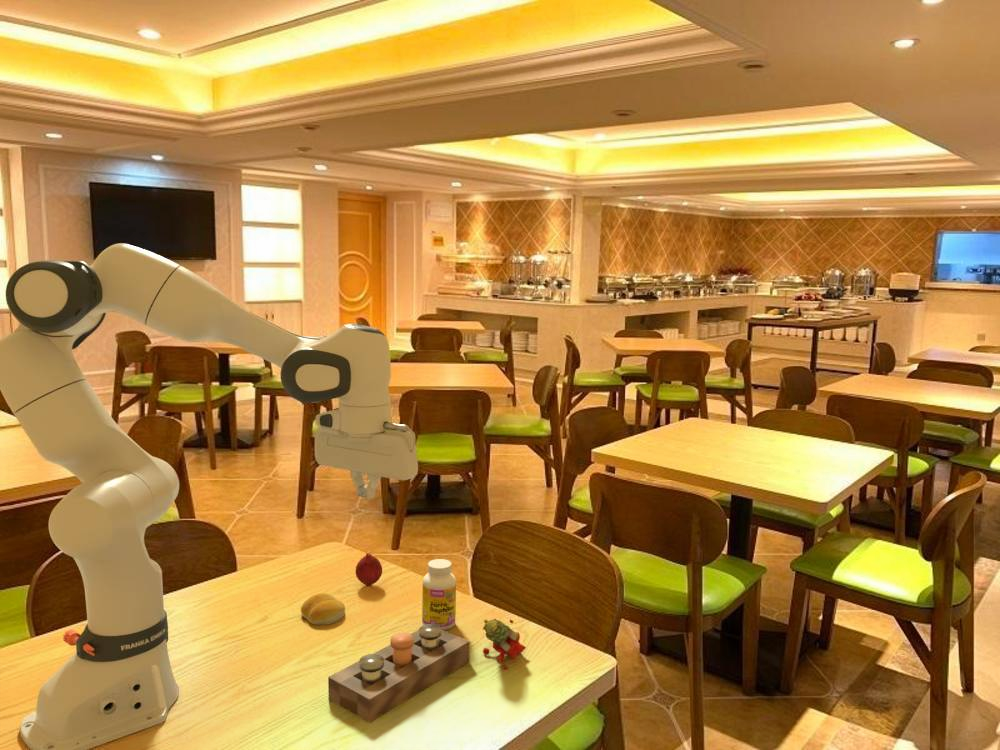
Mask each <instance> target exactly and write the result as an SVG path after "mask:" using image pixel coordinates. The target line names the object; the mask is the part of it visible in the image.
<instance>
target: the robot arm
mask: <svg viewBox="0 0 1000 750" xmlns="http://www.w3.org/2000/svg"><path fill="white" fill-rule="evenodd" d="M5 300H6V305H7V308H8V310H9V311H10V313H11V315H12V316H13V317H14V318H15V320H16V321H18V322H19V325H18V327H17V328H16V329H14V331H13V332H10V333H8V334H6V335H4V336H3V337H1V338H0V392H1V395H2V396H3V398H4V400H5V402H6V404H7V406H8V408H10V411H11V413H12V414H13V415H14V417H15V418H16V420H17V421H18V423H19V424H20V426H21V428H22V429H23V430H24V432H25V434H26V436H28V438H29V440H30V442H31V443H32V445H33V446H34V448H35V449H36V451H37V453H38V455H39V456H40V457H42V459H44V460H46V462H49V463H52V464H55V465H57V466H60V467H63V468H65V469H66V470H67V471H69V472H70V473H71V474H72V475H73V476H75V477H76V478H77V479H78V480H79V481H80V482H81V483H80V484H79V485H77V486H75V487H73V488H72V489H71V490H70V491H69V492H68V493H67V494H66V495H64V497H63V498H62V499H61V500H60V501H59V502H58V503H57V504H56V505H55V506H54V508H53V509H52V510H51V512H50V515H49V519H48V531H49V536H50V538H51V540H52V542H53V544H55V546H56V547H57V549H58V550H60V551H61V553H63V554H65V555H67V556H69V557H72V558H73V560H74V562H75V564H76V565H77V567H78V569H79V572H80V574H81V577H82V582H83V587H84V596H85V607H86V621H87V623H86V624H85V627H84V628H83V629H84V630H83V631H82V633H79V632H77V631H76V630H75V629H68V630H67V631H65V632H64V634H63V635H62V636H63V637H62V639H63V641H64V643H66V644H67V645H68V646H73V647H74V646H75V649H76V652H75V653H74V654H73V655H72V656H70V657H69V658H68V660H67V661H66V662H65V663H64V664H63V665H62V666H61V667H59V669H58V670H56V672H55V673H54V674H52V675H51V676H50V677H49V679H47V680H45V682H44V683H43V684H42V686H41V687H40V689H39V693H38V696H37V700H36V701H37V702H36V710H35V711H33V712H31V713H30V714H27V715H25V716H24V717H23V719H22V720H21V723H20V730H19V732H20V736H21V739H22V741H23V742H24V744H25V745H26V746H27V747H28V748H29V749H30V750H89V749H93V748H95V747H98V746H100V745H104V744H106V743H109V742H111V741H115V740H118V739H119V738H122V737H125V736H128V735H131V734H134V733H136V732H140V731H142V730H145V729H148V728H150V727H154V726H157V725H159V724H161V723H163V722H165V720H166V719H167V716H168V711H169V709H170V708H171V706H173V704H174V703H175V702H176V700H177V698H178V697H179V694H180V690H179V685H178V683H177V680H176V678H175V676H174V672H173V669H172V665H171V660H170V656H169V649H168V640H169V622H168V614H167V612H166V610H165V607H164V592H163V591H164V586H163V571H162V568H161V566H160V565H159V564H158V562H157V561H155V560H154V559H152V558H150V556H149V553H148V550H147V547H146V544H145V543H146V542H145V534H146V530H147V528H148V527H150V526H151V525H152V524H153V523H155V522H156V521H157V520H159V519H160V518H162V517H163V516H165V514H166V513H167V512H168V511H169V509H170V508H171V506H172V505H173V504H174V501H175V500H176V499H177V497H178V496H179V495H178V494H179V491H180V479H179V477H178V473H177V471H176V470H175V469H174V467H172V466H171V465H170V464H169V463H168V462H167V461H165V460H163V459H161V458H159V457H156V456H153V455H151V454H150V453H148V452H147V451H146V450H145V449H143V448H142V447H141V446H140V445H139V444H138V443H136V442H135V441H134V440H133V438H131V437H130V436H129V435H128V434H127V433H126V432H125V431H124V430H123V429H122V428H121V427H120V425H118V424H117V422H116V421H115V420H114V418H113V417H112V416H111V415H110V413H109V411H108V410H107V408H106V406H105V405H104V404H103V402H102V401H101V398H100V397H99V396H98V394H97V393H96V392H95V390H94V388H93V387H92V385H91V383H90V382H89V380H88V378H87V377H86V376H85V374H84V372H83V371H82V369H81V368H80V366H79V364H78V363H77V361H76V360H75V357H74V353H73V350H75V349H76V348H78V347H79V346H80V345H81V344H82V343H83V342H84V341H85V340H86V339H87V338H88V337H90V336H91V335H92V334H93V333H94V332H95V331H96V330H97V329H98V328H99V327H100V326H101V324H102V323H103V322H104V320H105V318H106V314H107V313H118V314H121V315H124V316H127V317H129V318H130V319H132V320H134V321H137V322H138V323H141V324H142V325H144V326H146V327H148V328H150V329H153V330H154V331H157V332H158V333H161V334H163V335H165V336H169V337H172V338H174V339H178V340H181V341H184V342H189V343H199V342H201V343H204V342H212V343H213V342H214V343H223V344H228V345H232V346H235V347H238V348H240V349H242V350H245V351H246V352H247V353H251V354H253V355H255V356H257V357H258V358H261V359H263V360H265V361H266V362H269V363H271V364H273V365H275V366H277V367H279V369H280V381H281V385H282V387H283V389H284V391H285V392H286V393H287V394H288V395H289V396H290V398H292V399H294V400H296V401H298V402H301V403H306V404H309V403H310V404H312V403H313V404H315V403H320V402H324V401H329V400H334V399H338V407H336V408H333V410H329V411H326V412H322V413H319V414H317V415H316V416H315V425H316V426H317V427H318V428H317V429H316V430H315V434H314V435H315V436H314V458H315V461H316V462H317V464H318V465H320V466H323V467H328V468H329V467H330V468H333V469H340V470H346V471H350V476H349V477H350V478H351V480H352V482H353V484H354V486H355V494H356V496H357V497H362V498H365V499H373V498H375V497H376V494H377V493H376V487H377V486H378V484H379V482H380V480H381V479H382V478H387V479H393V480H398V481H402V482H403V481H407V480H411V479H413V478H414V477H416V475H417V474H418V471H419V461H418V453H417V452H418V451H417V446H416V434H415V432H414V431H413V430H412V428H410V427H409V425H407V424H403V423H401V424H399V423H394V422H392V400H391V399H392V398H391V395H390V391H389V387H390V382H391V378H392V377H391V375H392V374H391V373H392V371H391V370H392V367H391V353H390V352H391V351H390V344H389V339H388V337H387V335H385V334H384V332H383V331H381V330H380V329H378V328H377V327H373V326H369V325H364V324H356V323H347V324H343V325H342V326H341V327H340V328H339V329H337V330H335V331H334V332H333V333H331V334H329V335H327V336H325V337H323V338H322V337H318V336H309V335H308V336H305V335H299V334H295V333H292V332H291V331H288V330H287V329H284V328H282V327H280V326H278V325H276V324H275V323H272V322H270V321H268V320H266V319H264V318H262V317H260V316H258V315H256V314H254V313H253V312H251V311H248V310H247V309H245V308H244V307H242V306H241V305H240V304H238V303H236V302H235V301H234V300H233V299H232V298H230V297H229V296H227V295H226V294H225V293H224V292H223V291H221V290H219V289H218V288H216V287H215V286H214V285H213V284H211V283H210V282H209V281H207V280H205V279H204V278H202V277H201V276H199V275H198V274H196V273H195V272H193V271H192V270H190V269H188V268H186V267H185V266H182V265H181V264H178V263H176V262H174V261H172V260H171V259H168V258H166V257H164V256H162V255H160V254H157V253H155V252H152V251H150V250H147V249H145V248H144V249H143V248H141V247H139V246H134V245H131V244H129V243H122V242H120V243H114V244H112V245H109V246H108V247H106V248H105V249H104V250H103V251H101V252H100V253H99V254H98V256H97V257H95V260H94V261H93V262H92V264H91V265H89V264H88V263H86V262H85V261H82V260H57V259H55V260H51V259H48V260H47V259H46V260H36V261H31V262H30V263H27V264H25V265H23V266H20V267H19V268H17V270H15V271H14V272H13V274H12V275H11V276H10V277H9V279H8V280H7V284H6V288H5ZM365 474H366V479H367V481H368V483H367V484H366V482H365V479H364V477H363V475H365Z"/></svg>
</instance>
